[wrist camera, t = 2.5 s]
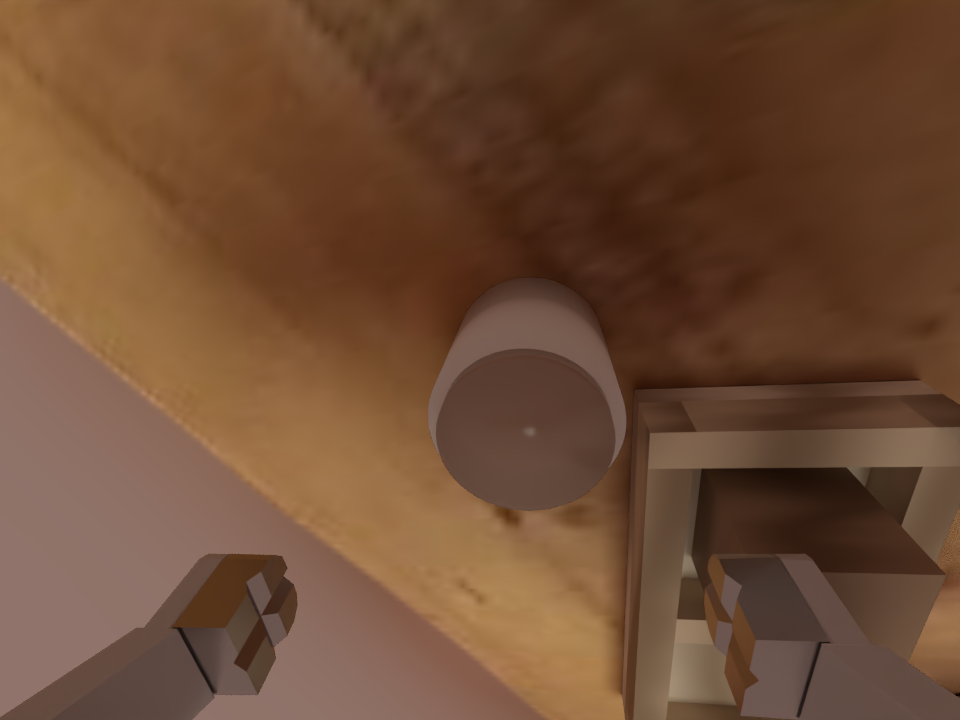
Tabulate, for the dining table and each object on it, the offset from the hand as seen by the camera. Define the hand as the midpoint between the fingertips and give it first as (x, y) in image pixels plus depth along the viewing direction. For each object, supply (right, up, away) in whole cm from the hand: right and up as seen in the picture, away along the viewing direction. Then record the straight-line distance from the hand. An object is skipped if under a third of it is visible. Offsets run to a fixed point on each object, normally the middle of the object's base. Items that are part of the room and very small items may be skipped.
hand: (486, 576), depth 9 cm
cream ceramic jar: (+2, +5, +9) cm, 11 cm away
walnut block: (+11, -2, +10) cm, 15 cm away
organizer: (+12, -6, +13) cm, 18 cm away
